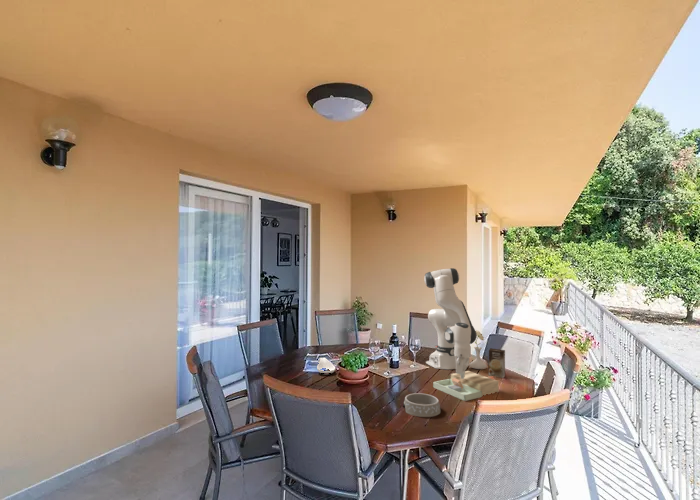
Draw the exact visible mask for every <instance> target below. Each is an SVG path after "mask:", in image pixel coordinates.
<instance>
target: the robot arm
mask: <svg viewBox="0 0 700 500" xmlns="http://www.w3.org/2000/svg"><path fill="white" fill-rule="evenodd" d="M423 277H424V279H423V280H424V281H423V282H424V284H425V285H426V287H427V288H430V289H433V293H434V300H435V304H437V305H438V306H439V307H440V308H432V309H430V310H429V311H428V313H427V318H428V321H429V323H431V325H432V326H433V327H434V328H435V330H436V333H437V334H436V335H437V345H436V349H435V351H433V352H431V354H429V357H428V358H429V360H426V361H425V364H427V365H429V366H430V367H433V368H434V369H440V370H455V373H457V374H460V375H461V379H464V377H465V371H467V368H468V367H470V366H469V364H470V358H471V357H472V352H471V351H472V347H471V344H473V343H475V342H476V340H477V337H478V336H477V334H476V329H475V328H474V326H473V324H472V321H471V318H470V316H469V314H468V311H467V308H466V306H465V304H464V302H463V301H462V300H461V299H459V297H458V296H457V294H456V289H455V287H454V285H457V284H458V283H459V281H460V273H459V271H458V270H457V269H456V268H443V269H442V268H441V269H438V270H433V271H428V272H426V273H425V274H424V276H423Z"/></svg>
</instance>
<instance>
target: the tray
mask: <svg viewBox="0 0 700 500" xmlns="http://www.w3.org/2000/svg"><path fill="white" fill-rule="evenodd" d="M451 385H454V384H453V382H452V380H451V378H446V379H443V380H442V379H441V380H437V381H432V388H434V389H436V390H438V391H441V392H442V393H445V394H448V395H449V396H452V397H454V398H457V399H459V400H461V401H463V402H466V401H470V400H476V399H479V398H482V397H483V396H482V391H480V390H478V389H475V388H472V387H470V386H467V385H464V384H462V386H463V389H462V391H460V392H457V391H455V390H452V389H450V388H448V386H451Z"/></svg>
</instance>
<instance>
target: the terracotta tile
mask: <svg viewBox="0 0 700 500" xmlns="http://www.w3.org/2000/svg"><path fill="white" fill-rule="evenodd" d="M452 382H453V384H454V385H457V386H459V387H462V389H463V386H462V383H461V381H460V380H458V379H456V378H453V379H452Z"/></svg>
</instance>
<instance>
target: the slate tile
mask: <svg viewBox="0 0 700 500" xmlns="http://www.w3.org/2000/svg"><path fill="white" fill-rule="evenodd" d="M448 388H450V389H452V390H455V391H457V392H460V391H462V387H459V386H457V385H451V386H448Z"/></svg>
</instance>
